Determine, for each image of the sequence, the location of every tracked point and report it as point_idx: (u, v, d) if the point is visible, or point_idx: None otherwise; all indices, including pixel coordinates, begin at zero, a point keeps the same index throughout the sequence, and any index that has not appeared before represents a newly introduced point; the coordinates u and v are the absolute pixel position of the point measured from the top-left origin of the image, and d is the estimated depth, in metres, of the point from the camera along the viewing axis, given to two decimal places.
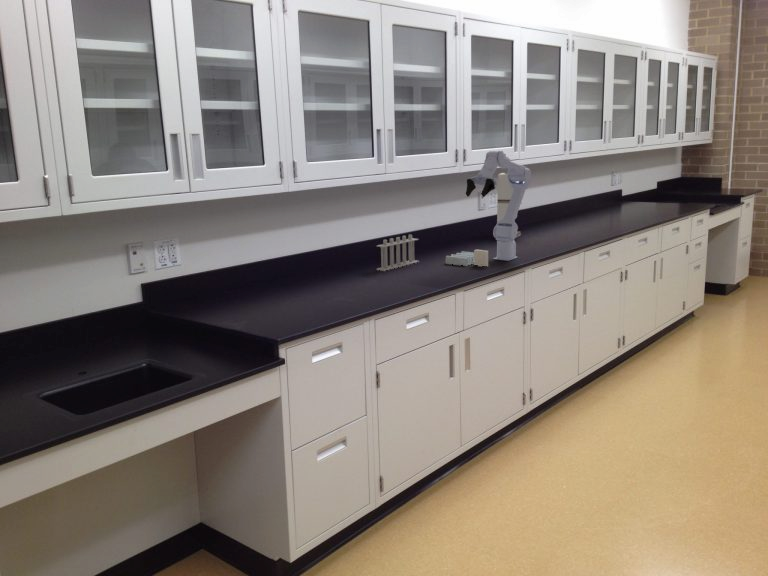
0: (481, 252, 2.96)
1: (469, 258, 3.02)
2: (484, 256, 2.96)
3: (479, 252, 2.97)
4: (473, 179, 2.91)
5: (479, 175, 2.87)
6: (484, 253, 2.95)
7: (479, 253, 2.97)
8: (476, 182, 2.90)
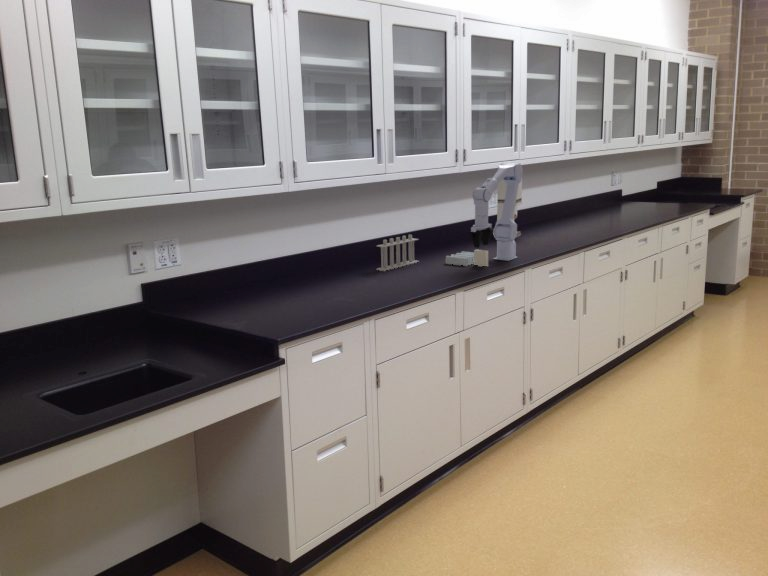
0: (481, 252, 2.96)
1: (469, 258, 3.02)
2: (484, 256, 2.96)
3: (479, 252, 2.97)
4: None
5: None
6: (484, 253, 2.95)
7: (479, 253, 2.97)
8: (484, 229, 2.97)
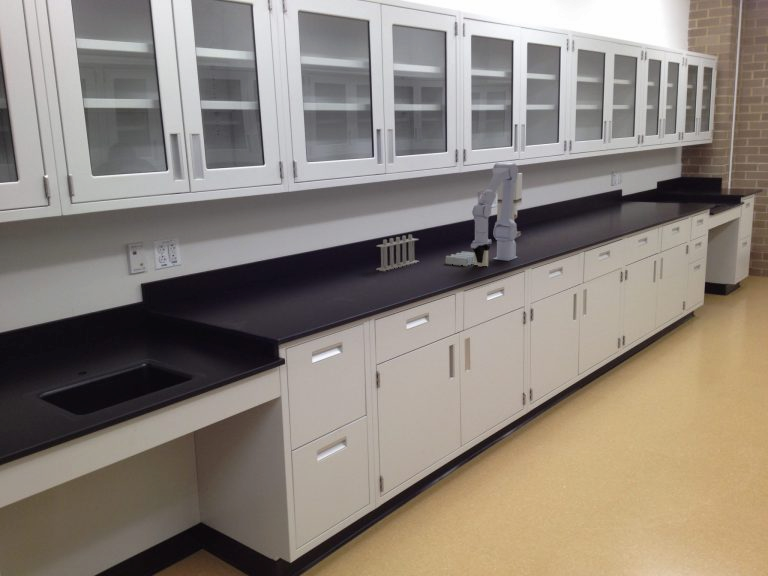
0: None
1: (469, 258, 3.02)
2: (484, 256, 2.96)
3: None
4: None
5: None
6: (484, 253, 2.95)
7: None
8: None
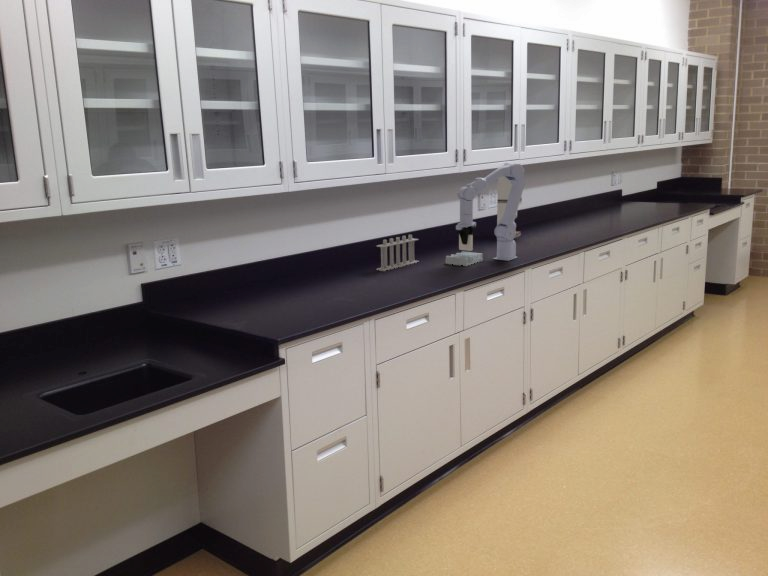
0: None
1: (469, 258, 3.02)
2: (469, 240, 3.02)
3: None
4: None
5: None
6: (468, 237, 3.02)
7: None
8: None
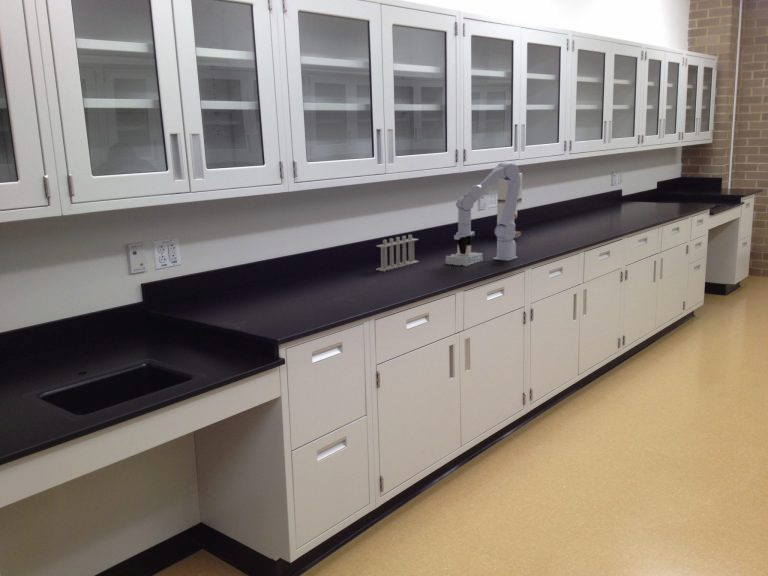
0: None
1: (469, 258, 3.02)
2: (467, 250, 3.04)
3: None
4: None
5: None
6: (467, 247, 3.04)
7: None
8: None
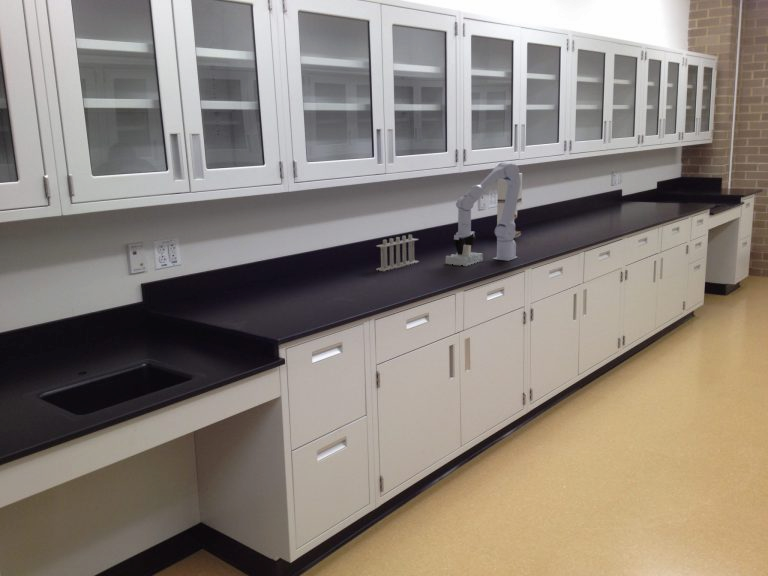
0: (464, 247, 3.05)
1: (469, 258, 3.02)
2: (467, 250, 3.04)
3: None
4: None
5: None
6: (467, 247, 3.04)
7: None
8: (467, 236, 3.07)
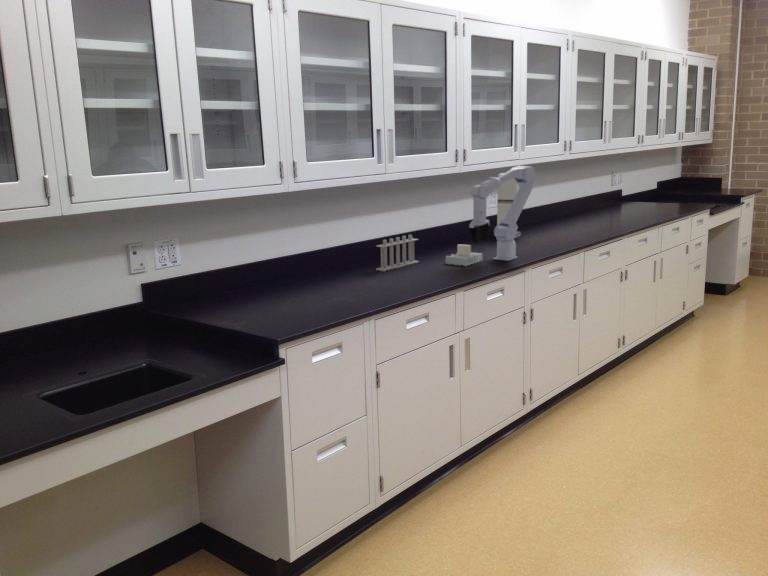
0: (464, 247, 3.05)
1: (469, 258, 3.02)
2: (467, 250, 3.04)
3: (462, 247, 3.05)
4: None
5: None
6: (467, 247, 3.04)
7: (462, 248, 3.05)
8: (482, 225, 3.05)
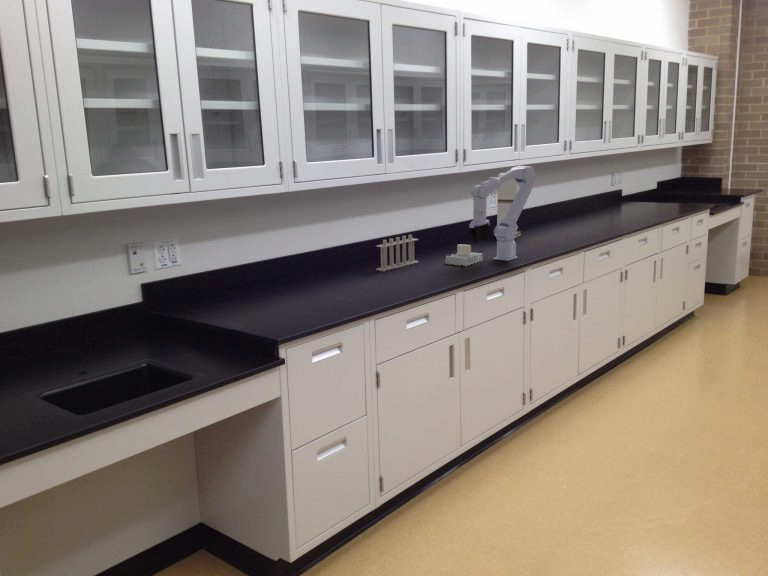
0: (464, 247, 3.05)
1: (469, 258, 3.02)
2: (467, 250, 3.04)
3: (462, 247, 3.05)
4: None
5: None
6: (467, 247, 3.04)
7: (462, 248, 3.05)
8: (482, 225, 3.05)
